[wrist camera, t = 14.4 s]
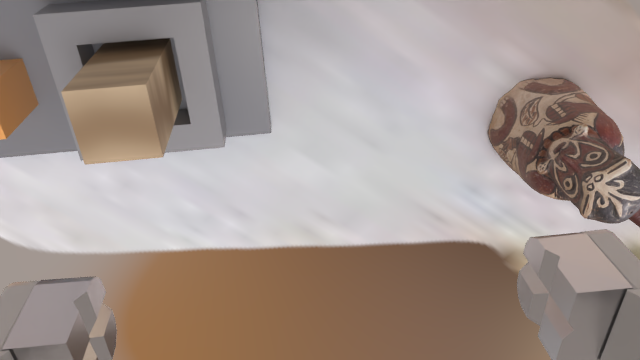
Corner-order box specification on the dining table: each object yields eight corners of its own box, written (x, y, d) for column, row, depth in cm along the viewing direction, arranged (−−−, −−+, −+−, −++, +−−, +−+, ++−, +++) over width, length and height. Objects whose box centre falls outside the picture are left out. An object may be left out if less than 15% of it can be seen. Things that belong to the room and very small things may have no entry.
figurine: (549, 54, 36) (663, 128, 26) (600, 116, 39) (721, 204, 29) (469, 125, 38) (545, 219, 28) (523, 179, 41) (610, 281, 31)
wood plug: (103, 43, 32) (61, 91, 25) (169, 38, 32) (145, 84, 25) (120, 104, 34) (84, 164, 27) (182, 99, 34) (163, 157, 27)
